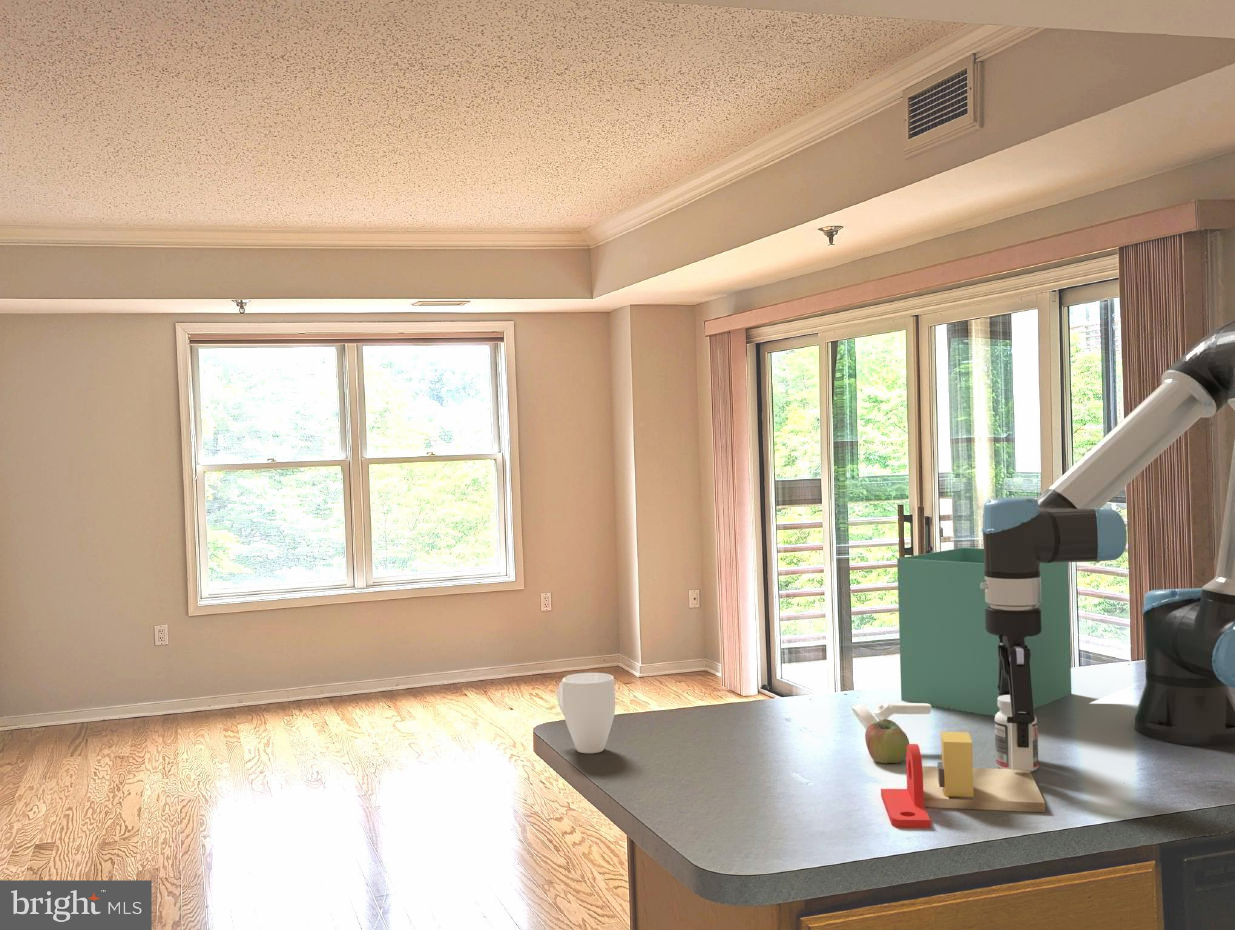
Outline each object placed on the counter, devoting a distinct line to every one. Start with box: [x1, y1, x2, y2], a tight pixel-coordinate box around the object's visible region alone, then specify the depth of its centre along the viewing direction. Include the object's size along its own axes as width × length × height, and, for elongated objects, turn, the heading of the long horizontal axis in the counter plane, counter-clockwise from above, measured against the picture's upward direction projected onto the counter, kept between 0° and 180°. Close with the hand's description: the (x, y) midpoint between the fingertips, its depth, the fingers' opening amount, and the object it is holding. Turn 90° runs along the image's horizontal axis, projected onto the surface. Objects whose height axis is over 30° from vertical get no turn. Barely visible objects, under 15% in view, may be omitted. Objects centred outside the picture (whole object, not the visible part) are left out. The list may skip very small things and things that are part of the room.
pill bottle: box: [994, 695, 1040, 773], centre depth 153 cm, size 6×6×10 cm
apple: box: [864, 718, 910, 765], centre depth 159 cm, size 6×8×6 cm
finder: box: [937, 731, 974, 797], centre depth 140 cm, size 7×5×4 cm
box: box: [896, 547, 1072, 717], centre depth 195 cm, size 23×21×26 cm
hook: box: [850, 702, 932, 730], centre depth 165 cm, size 8×12×7 cm, turn 78°
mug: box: [556, 672, 616, 754], centre depth 171 cm, size 12×8×11 cm
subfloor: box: [922, 765, 1046, 813], centre depth 143 cm, size 15×14×1 cm
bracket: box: [880, 743, 932, 829], centre depth 137 cm, size 12×4×8 cm, turn 173°
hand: (1016, 756), depth 153 cm, fingers open, 12 cm apart
